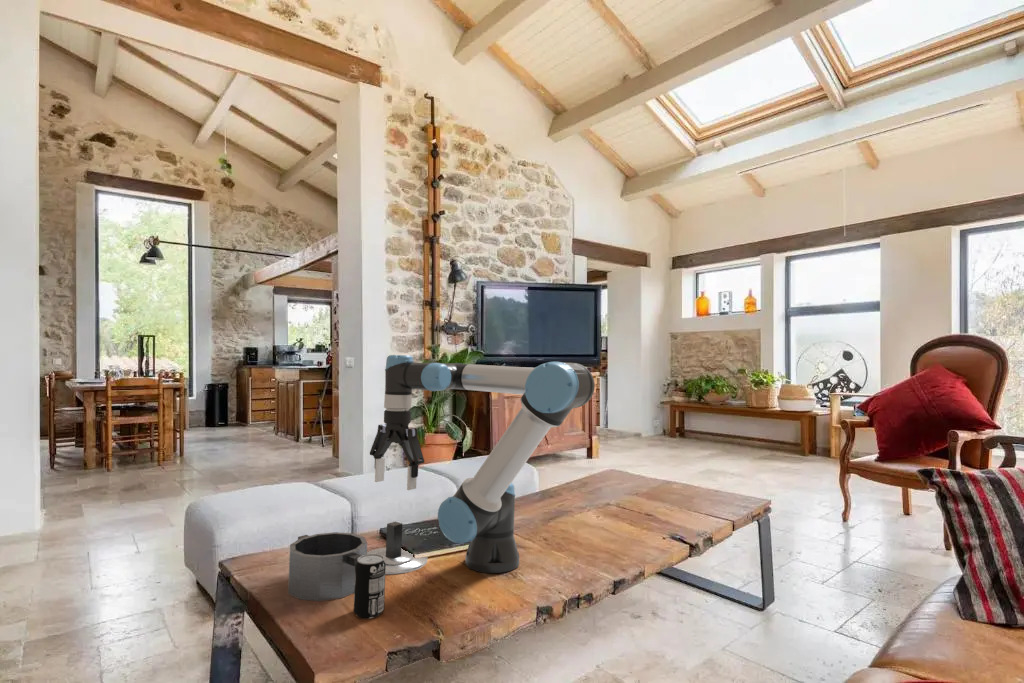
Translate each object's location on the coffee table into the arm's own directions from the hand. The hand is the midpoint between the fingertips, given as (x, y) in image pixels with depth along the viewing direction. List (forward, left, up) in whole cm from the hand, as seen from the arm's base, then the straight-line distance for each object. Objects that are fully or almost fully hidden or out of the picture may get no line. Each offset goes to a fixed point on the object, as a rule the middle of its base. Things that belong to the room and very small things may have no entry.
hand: (395, 485), depth 152 cm
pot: (0, +21, -21) cm, 30 cm away
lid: (0, 0, -21) cm, 21 cm away
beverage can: (-20, +24, -21) cm, 38 cm away
